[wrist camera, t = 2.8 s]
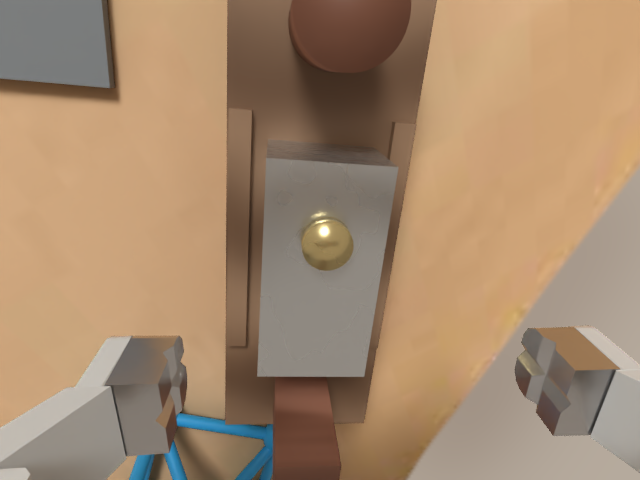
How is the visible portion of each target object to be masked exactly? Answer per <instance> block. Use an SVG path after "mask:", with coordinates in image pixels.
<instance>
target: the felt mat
mask: <svg viewBox="0 0 640 480" xmlns="http://www.w3.org/2000/svg"><path fill="white" fill-rule="evenodd" d="M0 78H1V79H12V80H24V81H35V82H46V83H58V84H69V85H80V86H92V87H103V88H115V84H114V73H113V62H112V51H111V40H110V29H109V18H108V7H107V0H0Z"/></svg>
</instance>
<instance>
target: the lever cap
mask: <svg viewBox="0 0 640 480" xmlns="http://www.w3.org/2000/svg"><path fill="white" fill-rule="evenodd" d="M398 168H399V167H398V166H396V165H395V164H394V163H393V162H391V161H390V160H389V159H388V158H386V157H385V156H384V155H382V154H381V153H380V152H379V151H377V150H376V149H375V148H374V147H364V146H351V145H338V144H325V143H312V142H298V141H285V140H272V139H268V146H267V155H266V176H265V200H264V224H263V248H262V273H261V297H260V321H259V345H258V369H257V377H364V375H365V369H366V363H367V357H368V351H369V345H370V338H371V332H372V326H373V320H374V314H375V308H376V302H377V296H378V290H379V284H380V277H381V271H382V265H383V259H384V253H385V247H386V241H387V235H388V229H389V222H390V216H391V210H392V204H393V198H394V192H395V186H396V180H397V174H398Z"/></svg>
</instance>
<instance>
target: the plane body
mask: <svg viewBox="0 0 640 480" xmlns="http://www.w3.org/2000/svg"><path fill="white" fill-rule="evenodd" d="M436 2H437V0H228V16H227V203H226V390H225V425H239V424H273V478H272V480H339V476H340V470H341V462H340V456H339V450H338V444H337V438H336V432H335V426H334V423H364V419H365V414H366V408H367V402H368V396H369V390H370V385H371V379H372V373H373V367H374V361H375V356H376V350H377V348H378V343H379V337H380V331H381V326H382V320H383V314H384V308H385V303H386V297H387V291H388V285H389V279H390V274H391V268H392V262H393V256H394V251H395V245H396V239H397V233H398V228H399V222H400V216H401V210H402V205H403V199H404V193H405V187H406V181H407V176H408V170H409V164H410V158H411V153H412V147H413V141H414V135H415V130H416V118H417V112H418V107H419V101H420V95H421V89H422V83H423V78H424V72H425V66H426V60H427V54H428V49H429V43H430V37H431V31H432V25H433V20H434V14H435V8H436ZM268 139H272V140H285V141H298V142H312V143H325V144H338V145H351V146H364V147H374V148H375V149H376V150H377V151H379V152H380V153H381V154H382V155H384V156H385V157H386V158H388V159H389V160H390V161H391V162H393V163H394V164H395V165H396V166H398V167H399V168H398V174H397V180H396V186H395V192H394V198H393V204H392V210H391V216H390V222H389V229H388V235H387V241H386V247H385V253H384V259H383V265H382V271H381V277H380V284H379V290H378V296H377V302H376V308H375V314H374V320H373V326H372V332H371V338H370V345H369V351H368V357H367V363H366V369H365V375H364V377H257V369H258V345H259V321H260V297H261V273H262V248H263V224H264V200H265V176H266V155H267V146H268Z"/></svg>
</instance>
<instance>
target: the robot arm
mask: <svg viewBox="0 0 640 480" xmlns="http://www.w3.org/2000/svg"><path fill="white" fill-rule="evenodd" d="M521 343H522V345H523V346H524V348H525V351H524V352H523V353H522V354H521V355H520V356H519V357H518V358H517V361H516V366H515V375H516V381H517V384H518V386H519V389H520V390H521V392H522V393H523V395H524V396H525V397H526V398H527V399H529V400H530V401H532V402H534V403H536V404H537V409H536V413H537V414H538V416H539V417H540V418H541V420H542V421H543V422H544V424H545V425H546V426H547V428H548V429H549V431H550V432H551V433H552V435H553V436H563V435H564V436H565V435H566V436H569V435H591V436H590V437H591V438H592V439H593V440H595V441H596V442H598V443H599V444H600V445H602V446H603V447H604V448H606V449H607V450H609V451H610V452H612V453H613V454H614V455H616V456H617V457H618V458H620V459H621V460H623V461H624V462H625V463H627V464H628V465H630V466H631V467H632V468H634V469H635V470H636V471H638V472H639V473H640V365H639V364H638V363H637V362H635V360H633V359H632V358H631V357H630V356H629V355H627V354H626V353H625V352H624V351H623V350H621V349H620V348H619V347H618V346H617V345H615V344H614V343H613V342H612V341H611V340H609V339H608V338H607V337H606V336H605V335H604V334H602V333H601V332H600V331H599V330H597V329H596V328H594V327H591V326H589V325H587V326H569V327H558V328H557V327H556V328H528V329H527V331H526V332H525V333H524V335H523V338H522V342H521ZM183 352H184V349H183V342H182V338H181V337H180V336H111V337H109V338H107V339H106V340H105V342H104V343H103V345H102V346H101V348H100V349H99V351H98V352H97V354H96V355H95V357H94V358H93V360H92V362H91V363H90V365H89V366H88V368H87V369H86V371H85V372H84V374H83V375H82V377H81V378H80V380H79V381H78V383H77V384H76V386H75V387H68V388H65V389H64V390H62V391H60V392H59V393H57V394H55V395H54V396H52V397H50V398H49V399H47V400H45V401H44V402H42V403H41V404H39V405H37V406H36V407H34V408H32V409H31V410H29V411H27V412H26V413H24V414H22V415H21V416H19V417H17V418H16V419H14V420H12V421H11V422H9V423H7V424H6V425H4V426H2V427H1V428H0V480H106V479H107V478H108V477H109V476H110V475H111V474H112V473H113V472H114V471H115V470H116V469H117V468H118V467H119V466H120V465H121V464H122V463H123V462H124V461H125V460H126V456H137V455H150V454H164V453H169V452H170V449H171V446H172V442H173V439H174V436H175V433H176V429H177V421H176V415H177V414H178V413H180V412H181V411H182V409H183V406H184V402H185V397H186V390H187V373H186V367H185V366H184V365H183V364H182V363H181V362H180V361H181V358H182V355H183Z"/></svg>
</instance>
